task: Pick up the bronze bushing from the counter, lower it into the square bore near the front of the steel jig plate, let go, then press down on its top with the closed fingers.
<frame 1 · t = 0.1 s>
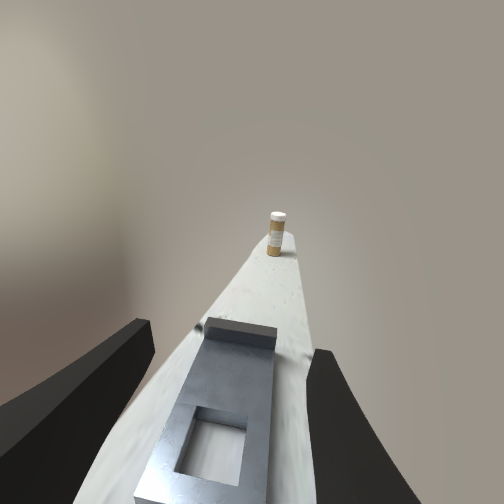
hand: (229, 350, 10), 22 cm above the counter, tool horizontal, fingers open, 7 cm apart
sprinkles bottle: (273, 254, 74), on the counter
jig plate: (225, 406, 29), on the counter
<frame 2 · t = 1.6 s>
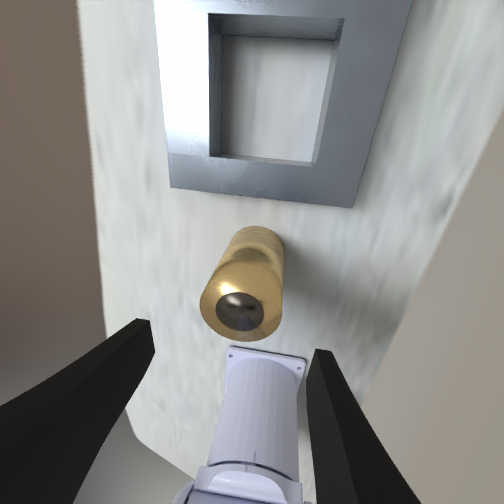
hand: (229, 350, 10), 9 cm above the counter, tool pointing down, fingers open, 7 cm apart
bushing: (256, 252, 18), on the counter
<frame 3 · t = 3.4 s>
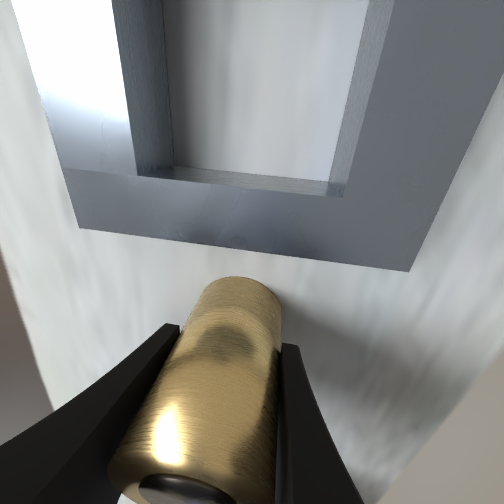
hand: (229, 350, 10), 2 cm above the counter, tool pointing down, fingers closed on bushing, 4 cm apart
bushing: (239, 311, 12), on the counter, touching gripper
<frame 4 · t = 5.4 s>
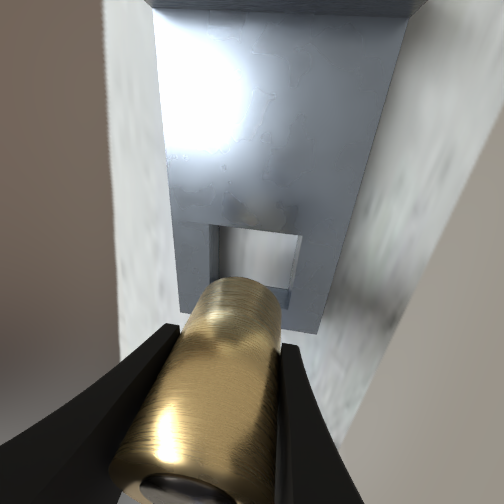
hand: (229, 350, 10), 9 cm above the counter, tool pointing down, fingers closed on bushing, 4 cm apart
bushing: (239, 311, 12), point 7 cm above the counter, touching gripper
jig plate: (262, 189, 16), on the counter
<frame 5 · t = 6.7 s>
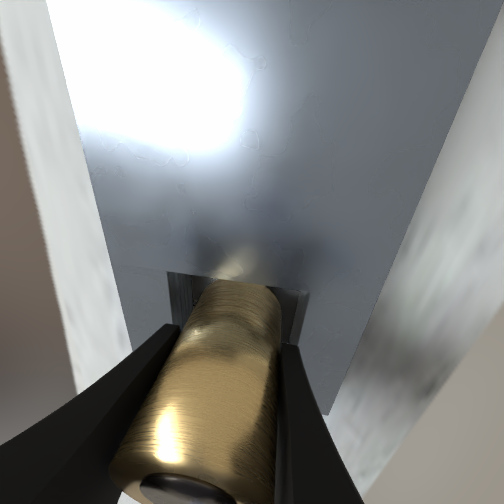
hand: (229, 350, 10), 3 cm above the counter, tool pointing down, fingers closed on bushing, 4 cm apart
bushing: (239, 311, 12), point 1 cm above the counter, touching gripper
jig plate: (249, 215, 11), on the counter
when the fingers open (3 cm above the counter, at t = 7.5 s): bushing stays where it is, resting in jig plate.
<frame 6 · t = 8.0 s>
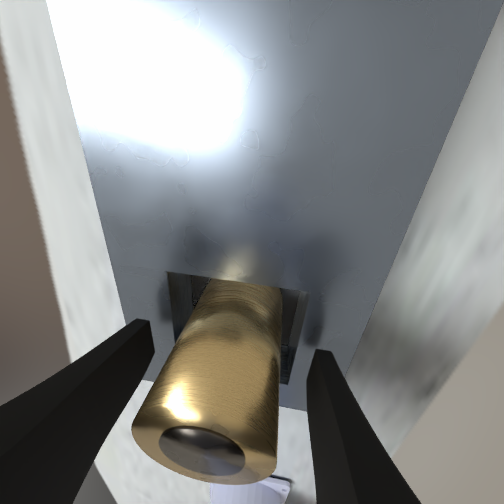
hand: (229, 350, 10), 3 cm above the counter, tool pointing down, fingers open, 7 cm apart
bushing: (243, 300, 13), resting in jig plate
jig plate: (249, 215, 11), on the counter
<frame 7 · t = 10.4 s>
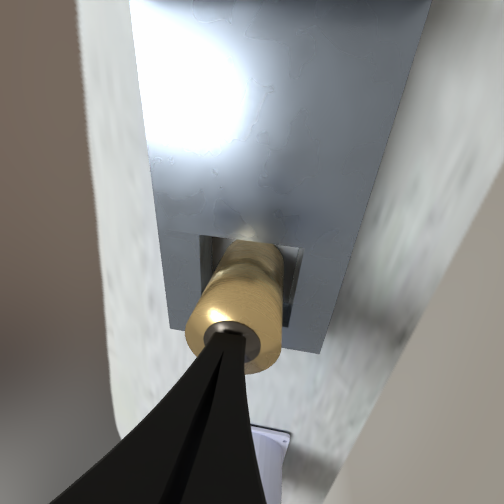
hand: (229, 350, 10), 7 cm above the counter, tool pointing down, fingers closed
bushing: (253, 264, 16), resting in jig plate
jig plate: (259, 195, 14), on the counter
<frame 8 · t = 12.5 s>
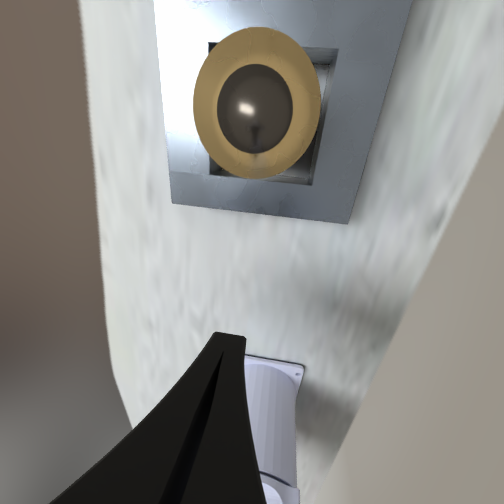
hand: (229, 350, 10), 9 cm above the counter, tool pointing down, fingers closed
bushing: (269, 123, 14), resting in jig plate
jig plate: (279, 11, 12), on the counter
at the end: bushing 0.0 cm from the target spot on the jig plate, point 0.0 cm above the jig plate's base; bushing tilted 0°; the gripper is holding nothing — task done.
